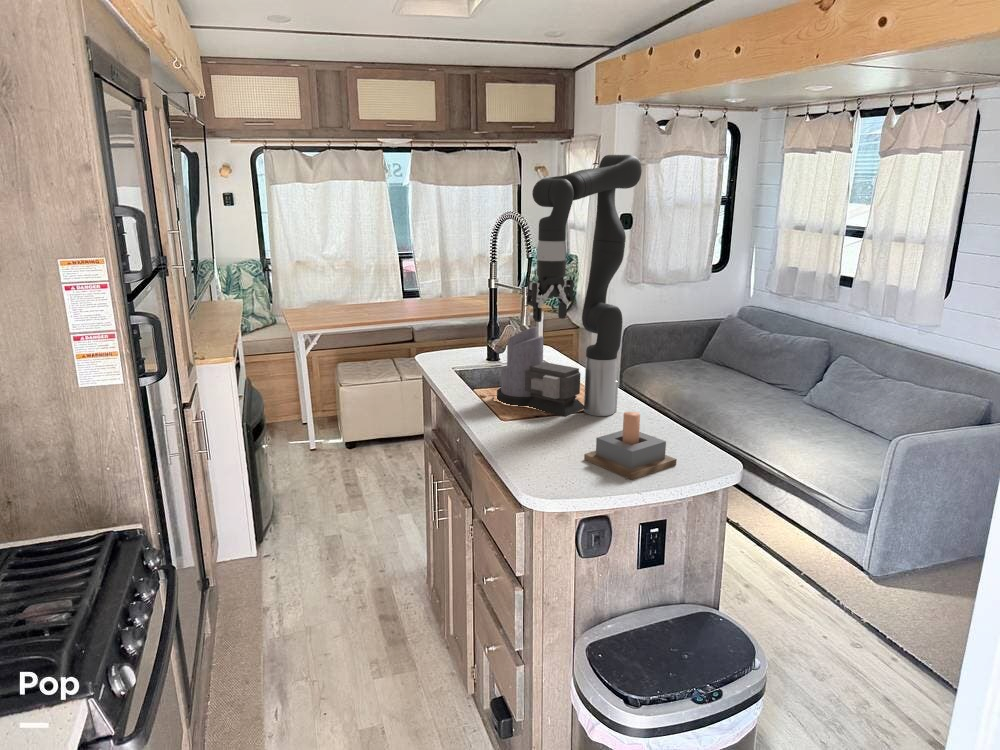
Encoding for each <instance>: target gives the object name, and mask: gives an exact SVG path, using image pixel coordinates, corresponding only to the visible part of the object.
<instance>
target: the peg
mask: <svg viewBox="0 0 1000 750" xmlns="http://www.w3.org/2000/svg"><path fill="white" fill-rule="evenodd" d="M622 420H623V424H622V430H623V439H622V442H625V443H627V444H630V445H634V444H637V443H639V432H640V428H641V427H640V426H641V424H640V423H641V413H640V412H636V411H625V412H623V419H622Z"/></svg>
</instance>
